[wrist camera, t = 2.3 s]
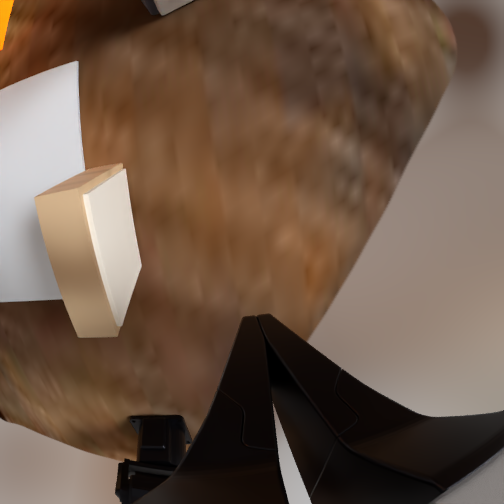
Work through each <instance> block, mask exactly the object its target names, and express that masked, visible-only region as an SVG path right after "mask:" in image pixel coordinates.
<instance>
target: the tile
mask: <svg viewBox="0 0 504 504" xmlns="http://www.w3.org/2000/svg"><path fill="white" fill-rule="evenodd" d="M34 200H35V205H36V209H37V214H38V218H39V223H40V227H41V231H42V235H43V238H44V242H45V246H46V249H47V253H48V256H49V260H50V263H51V266H52V269H53V272H54V275H55V279H56V281H57V284H58V287H59V290H60V293H61V296H62V298H63V301H64V304H65V306H66V309H67V311H68V314H69V316H70V319H71V321H72V324H73V326H74V328H75V331H76V333H77V335H78V338H92V337H118V334H119V330H120V327H121V326H122V324H123V321H124V318H125V315H126V311H127V308H128V305H129V302H130V299H131V296H132V293H133V290H134V287H135V284H136V281H137V278H138V275H139V272H140V269H141V266H142V264H141V260H140V255H139V250H138V244H137V239H136V234H135V228H134V222H133V216H132V210H131V204H130V197H129V190H128V183H127V175H126V169H123V165H122V163H118V164H112V165H106V166H100V167H95V168H90V169H88V170H86V171H83V172H81V173H79V174H77V175H75V176H73V177H71V178H69V179H67V180H65V181H63V182H61V183H59V184H57V185H56V186H54V187H52V188H50V189H48V190H46V191H44V192H43V193H41V194H39V195H37V196H35V197H34Z"/></svg>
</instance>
